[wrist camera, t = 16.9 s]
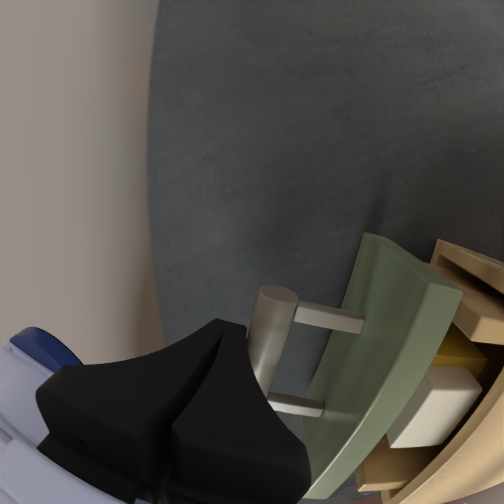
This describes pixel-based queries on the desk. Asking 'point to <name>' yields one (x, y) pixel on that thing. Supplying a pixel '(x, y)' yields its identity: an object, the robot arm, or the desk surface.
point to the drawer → (374, 360)
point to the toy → (440, 394)
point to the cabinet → (479, 424)
